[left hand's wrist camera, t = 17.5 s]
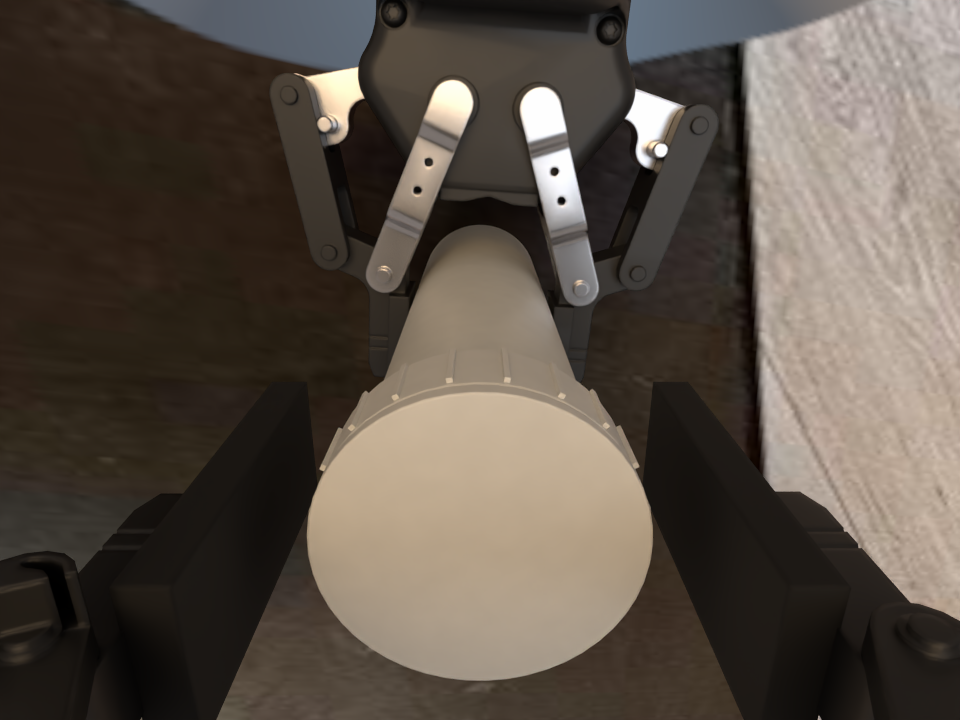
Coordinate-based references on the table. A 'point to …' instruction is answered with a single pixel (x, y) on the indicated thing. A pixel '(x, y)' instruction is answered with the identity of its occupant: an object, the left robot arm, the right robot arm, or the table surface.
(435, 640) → the lid
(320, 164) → the right robot arm
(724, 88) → the table surface
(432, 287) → the jar
